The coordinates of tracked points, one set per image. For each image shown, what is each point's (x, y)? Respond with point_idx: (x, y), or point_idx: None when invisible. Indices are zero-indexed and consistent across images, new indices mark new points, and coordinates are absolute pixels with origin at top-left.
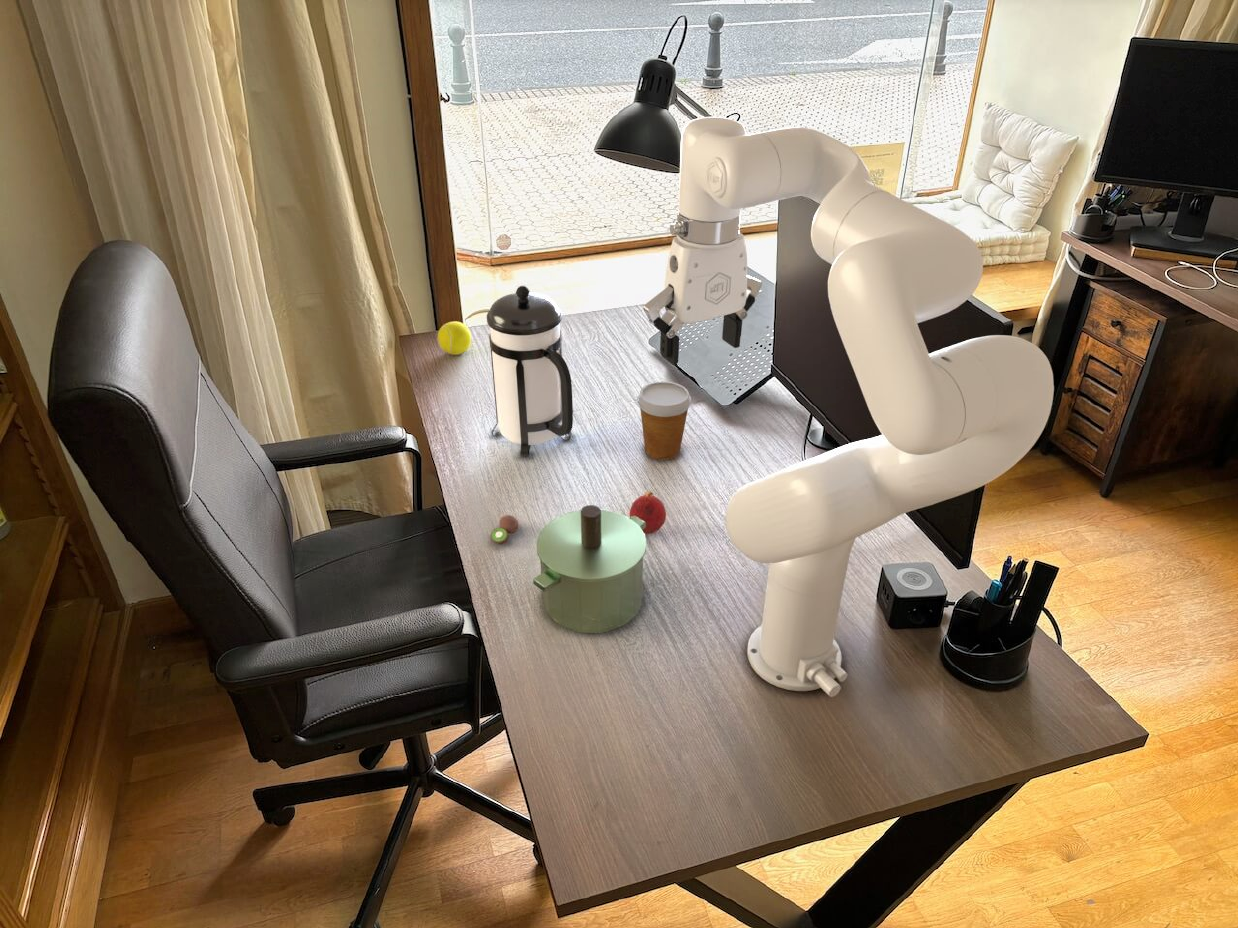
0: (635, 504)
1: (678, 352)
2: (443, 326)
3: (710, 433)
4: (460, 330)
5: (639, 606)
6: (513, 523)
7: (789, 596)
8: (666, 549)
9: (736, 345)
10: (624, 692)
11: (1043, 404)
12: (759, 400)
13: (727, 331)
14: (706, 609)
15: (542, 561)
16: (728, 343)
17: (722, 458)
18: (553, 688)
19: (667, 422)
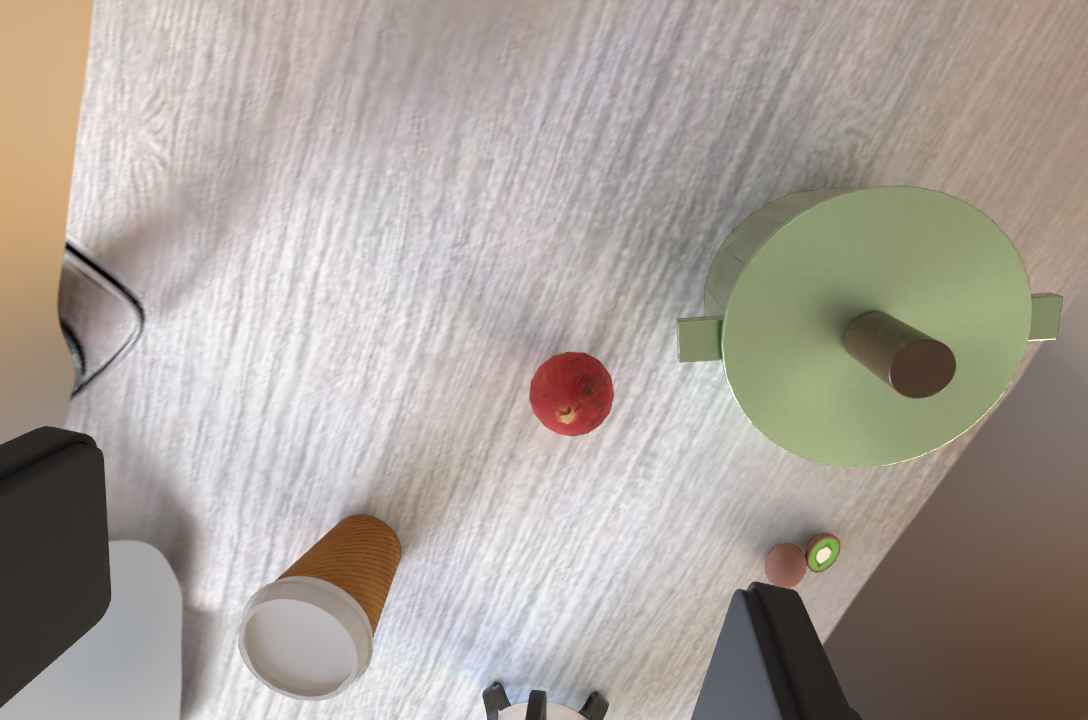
0: (595, 420)
1: (776, 677)
2: None
3: (245, 525)
4: None
5: (765, 206)
6: (790, 558)
7: None
8: (581, 311)
9: (64, 443)
10: (982, 25)
11: None
12: None
13: (2, 632)
14: (655, 107)
15: (1019, 361)
16: (104, 529)
17: (280, 451)
18: (1076, 139)
19: (345, 578)
